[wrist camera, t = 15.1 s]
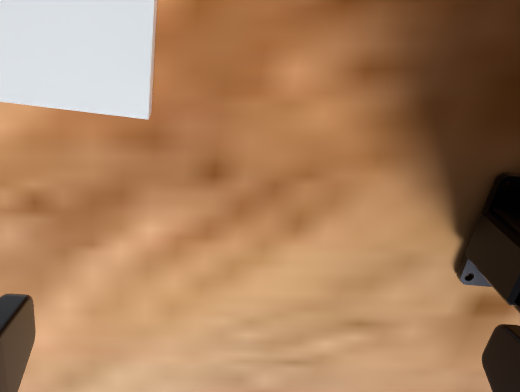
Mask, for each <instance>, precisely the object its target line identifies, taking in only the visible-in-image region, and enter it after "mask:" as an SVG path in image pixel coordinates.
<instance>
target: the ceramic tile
mask: <svg viewBox="0 0 520 392" xmlns="http://www.w3.org/2000/svg"><path fill="white" fill-rule="evenodd" d="M156 13H157V0H0V102H8V103H16V104H24V105H33V106H41V107H49V108H58V109H66V110H74V111H82V112H91V113H99V114H107V115H116V116H124V117H132V118H140V119H149V117H150V114H151V108H152V89H153V70H154V51H155V32H156Z"/></svg>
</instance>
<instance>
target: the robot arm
mask: <svg viewBox="0 0 520 392" xmlns="http://www.w3.org/2000/svg"><path fill="white" fill-rule="evenodd" d="M507 181H509V183H508V184H507V185H506V186H504V184H505V182H507ZM467 274H469V275H468V276H466V275H467ZM465 276H466V277H465ZM457 277H458V279H459V280H460V281H461V282H462V283H463V284H465V285H476V286H489V287H493V288H494V289H495V290H496V291H497V292H498V294H499V295H500V296H501V297H502V298H503V299H504V300H505V302H506V303H507V304H509V305H512V306H514V307H515V308H516V309H517V310H518V312H519V313H520V174H515V173H503V174H500V175H499V176H498V177H497V178H496V180H495V182H494V184H493V187H492V189H491V191H490V194H489V196H488V199H487V201H486V204H485V206H484V209H483V211H482V213H481V215H480V217H479V220H478V222H477V225H476V227H475V229H474V232H473V234H472V237H471V239H470V242H469V244H468V247H467V249H466V251H465V255H464V257H463V260H462V262H461V265H460V267H459V269H458V272H457ZM34 340H35V318H34V305H33V300H32V297H31V296H29V295H24V294H5V295H3V296H1V297H0V392H18V389H19V386H20V383H21V380H22V377H23V374H24V371H25V368H26V365H27V362H28V359H29V356H30V353H31V350H32V347H33V344H34ZM482 364H483V368H484V370H485V373H486V376H487V378H488V381H489V383H490V386H491V389H492V391H493V392H520V326H518V325H506V324H501V325H498V326H497V327H496V328H495V329H494V331H493V333H492V335H491V337H490V339H489V341H488V343H487V345H486V347H485V349H484V352H483V354H482Z"/></svg>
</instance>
